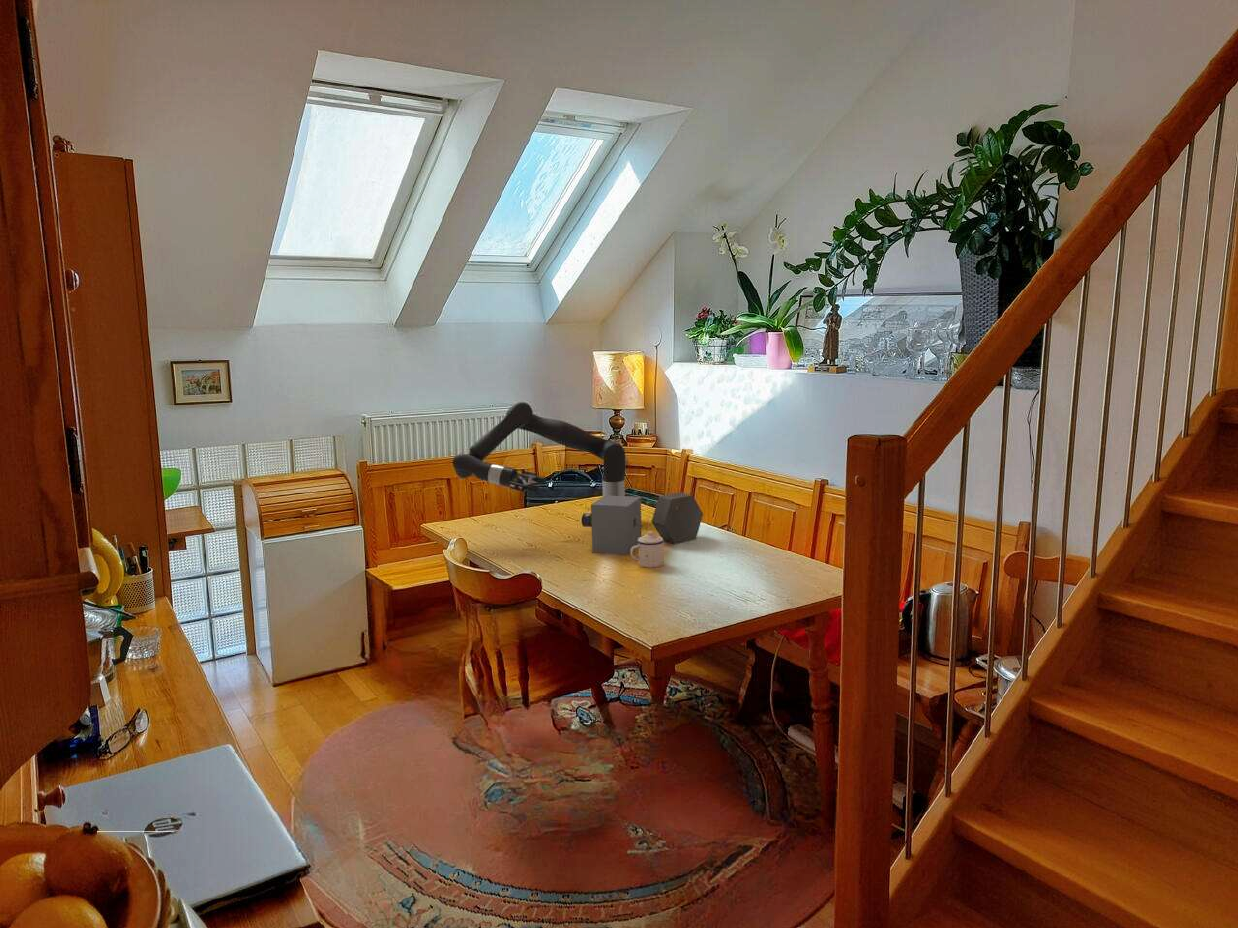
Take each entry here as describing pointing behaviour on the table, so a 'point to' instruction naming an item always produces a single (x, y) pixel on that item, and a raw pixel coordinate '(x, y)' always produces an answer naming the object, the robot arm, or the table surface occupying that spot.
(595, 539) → the block
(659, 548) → the teacup with lid
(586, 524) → the plunger
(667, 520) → the dark grey hexagonal block
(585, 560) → the table surface
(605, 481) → the robot arm
